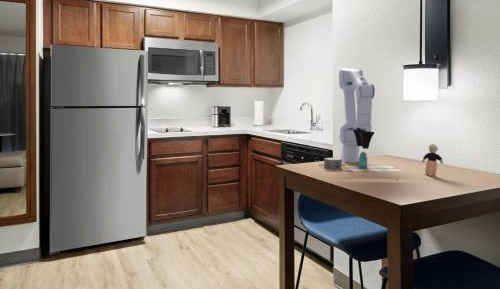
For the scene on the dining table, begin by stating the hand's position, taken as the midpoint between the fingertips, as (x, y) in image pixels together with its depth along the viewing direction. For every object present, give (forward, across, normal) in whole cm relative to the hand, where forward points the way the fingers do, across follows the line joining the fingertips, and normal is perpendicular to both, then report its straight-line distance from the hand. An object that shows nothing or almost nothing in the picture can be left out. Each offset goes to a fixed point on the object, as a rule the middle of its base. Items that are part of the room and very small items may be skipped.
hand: (362, 147), depth 160 cm
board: (+10, 0, -2) cm, 10 cm away
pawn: (+9, 0, 0) cm, 9 cm away
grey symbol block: (+10, -1, -12) cm, 16 cm away
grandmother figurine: (+10, +10, +24) cm, 28 cm away
